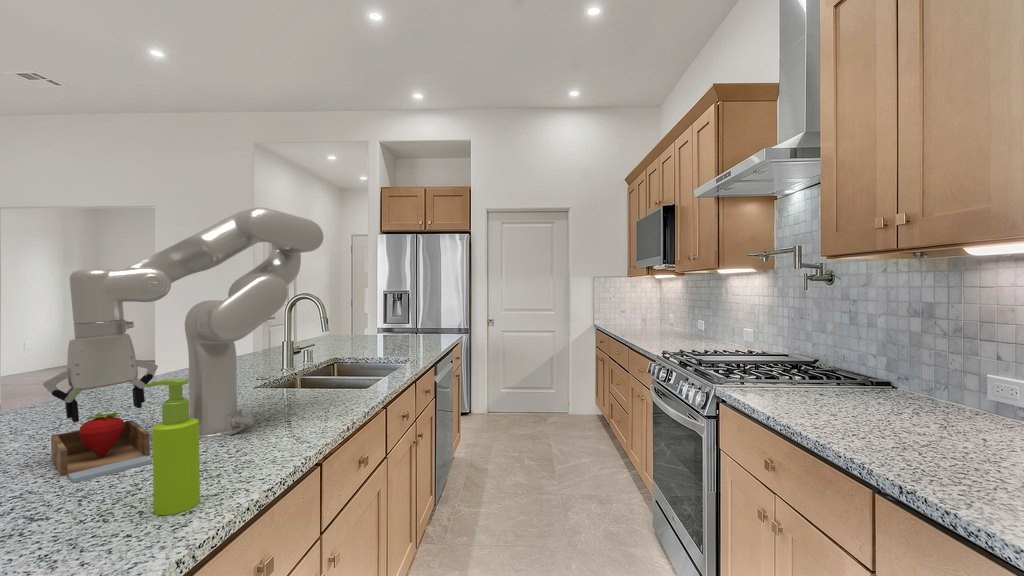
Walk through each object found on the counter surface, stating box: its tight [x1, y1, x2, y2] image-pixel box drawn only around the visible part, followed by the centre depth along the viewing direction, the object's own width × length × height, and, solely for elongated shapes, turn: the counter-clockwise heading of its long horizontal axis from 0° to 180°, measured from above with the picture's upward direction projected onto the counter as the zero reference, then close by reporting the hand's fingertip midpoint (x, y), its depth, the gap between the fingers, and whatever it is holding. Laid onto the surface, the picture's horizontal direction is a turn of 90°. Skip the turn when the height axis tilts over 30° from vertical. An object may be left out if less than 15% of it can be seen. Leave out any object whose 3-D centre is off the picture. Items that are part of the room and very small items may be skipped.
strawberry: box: [79, 405, 125, 456], centre depth 90 cm, size 6×8×10 cm
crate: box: [50, 420, 151, 477], centre depth 90 cm, size 14×13×6 cm
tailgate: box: [67, 455, 153, 484], centre depth 84 cm, size 1×11×5 cm
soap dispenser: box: [145, 378, 201, 516], centre depth 71 cm, size 6×7×20 cm
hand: (107, 413), depth 91 cm, fingers open, 9 cm apart
